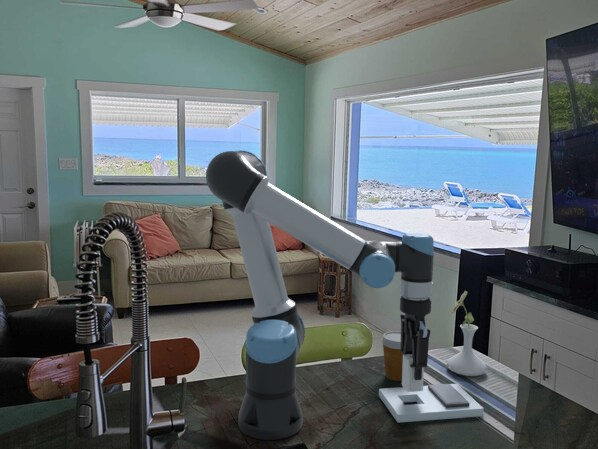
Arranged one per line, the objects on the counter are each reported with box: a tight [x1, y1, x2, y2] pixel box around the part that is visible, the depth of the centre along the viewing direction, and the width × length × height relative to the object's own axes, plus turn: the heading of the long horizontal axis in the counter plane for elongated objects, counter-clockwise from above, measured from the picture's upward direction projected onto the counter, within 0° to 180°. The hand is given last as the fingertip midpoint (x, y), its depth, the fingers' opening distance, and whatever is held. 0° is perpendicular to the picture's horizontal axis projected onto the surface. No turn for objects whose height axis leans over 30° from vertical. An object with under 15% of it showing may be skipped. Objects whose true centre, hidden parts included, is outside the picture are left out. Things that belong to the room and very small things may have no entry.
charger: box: [401, 354, 425, 392], centre depth 133 cm, size 4×4×8 cm
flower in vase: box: [446, 290, 488, 377], centre depth 155 cm, size 13×11×25 cm
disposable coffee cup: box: [380, 330, 403, 382], centre depth 152 cm, size 10×10×12 cm
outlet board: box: [378, 383, 485, 423], centre depth 135 cm, size 22×14×2 cm, turn 100°
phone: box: [427, 383, 469, 408], centre depth 136 cm, size 6×11×1 cm, turn 10°
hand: (412, 386), depth 134 cm, fingers closed on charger, 4 cm apart
